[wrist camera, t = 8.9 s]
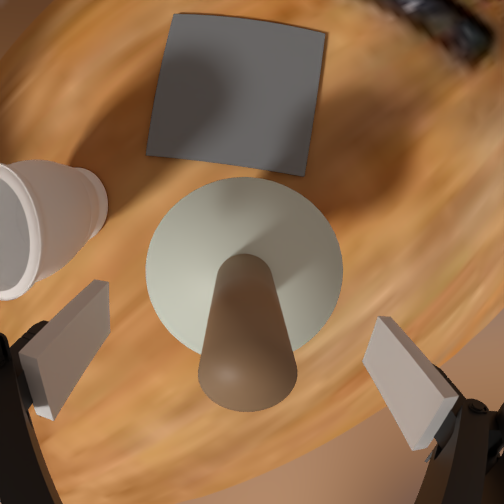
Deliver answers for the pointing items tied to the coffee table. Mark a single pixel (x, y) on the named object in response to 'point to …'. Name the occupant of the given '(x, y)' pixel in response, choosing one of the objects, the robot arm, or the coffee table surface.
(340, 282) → the lid
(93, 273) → the coffee table surface
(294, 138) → the mat
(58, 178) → the jar
